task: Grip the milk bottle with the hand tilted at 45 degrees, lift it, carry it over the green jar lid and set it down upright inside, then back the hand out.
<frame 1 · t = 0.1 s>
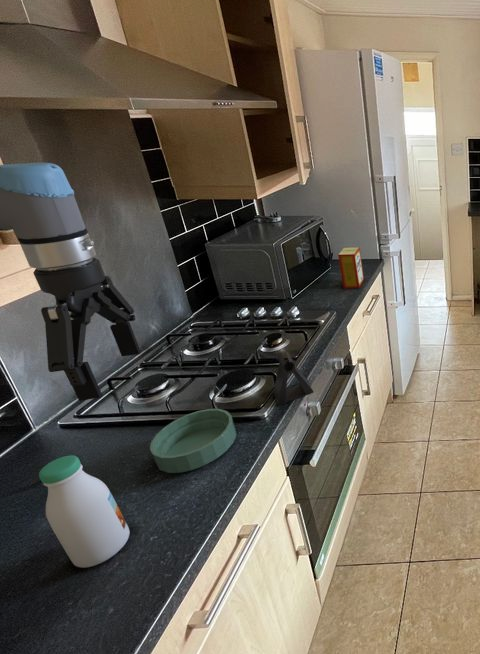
hand: (112, 374, 74), 30 cm above the worktop, tool pointing down, fingers open, 13 cm apart
milk bottle: (103, 548, 75), on the worktop
green jar lid: (198, 448, 97), on the worktop
baking soda box: (354, 284, 185), on the worktop
phone stand: (294, 394, 115), on the worktop
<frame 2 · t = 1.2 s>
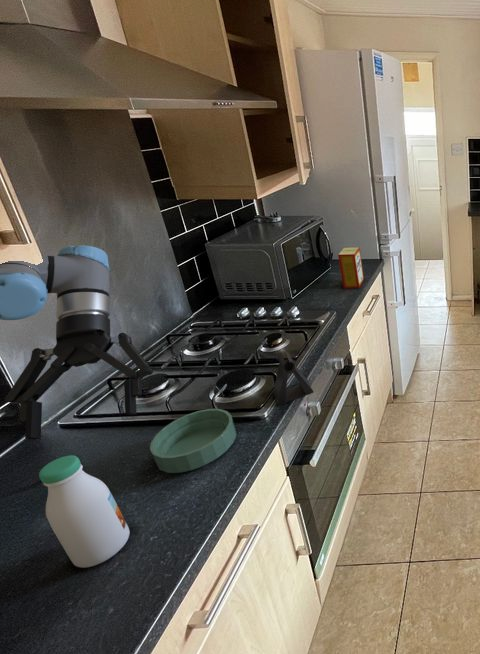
hand: (83, 426, 76), 20 cm above the worktop, tool tilted 45°, fingers open, 13 cm apart
nothing on the worktop moved.
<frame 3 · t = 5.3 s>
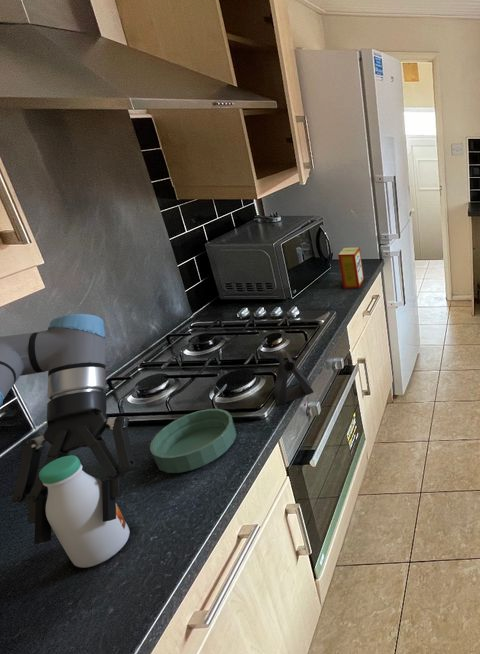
hand: (77, 530, 69), 9 cm above the worktop, tool tilted 45°, fingers closed on milk bottle, 8 cm apart
milk bottle: (103, 548, 75), on the worktop, touching gripper
everything else where it was.
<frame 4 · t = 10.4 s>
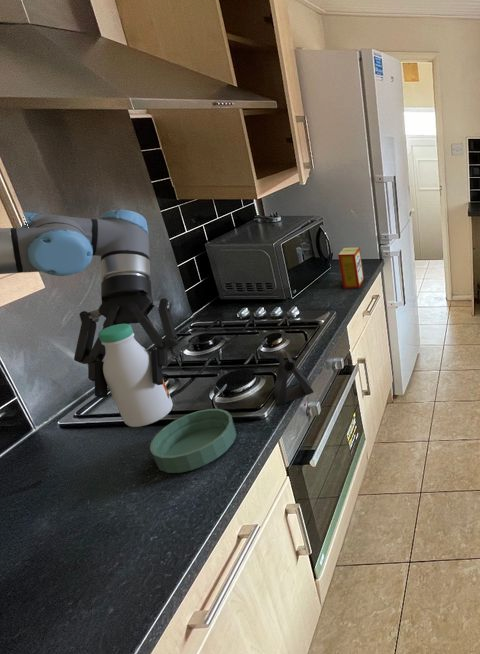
hand: (130, 389, 78), 25 cm above the worktop, tool tilted 45°, fingers closed on milk bottle, 8 cm apart
milk bottle: (150, 415, 84), point 16 cm above the worktop, touching gripper
everything else where it was.
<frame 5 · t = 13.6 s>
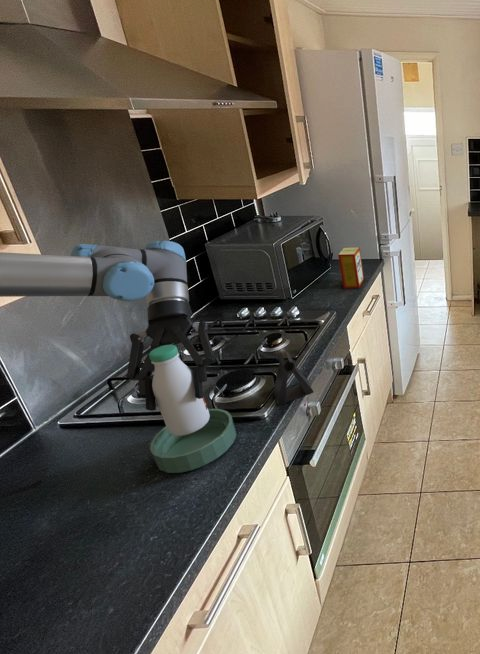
hand: (175, 403, 88), 16 cm above the worktop, tool tilted 45°, fingers closed on milk bottle, 8 cm apart
milk bottle: (190, 425, 94), point 7 cm above the worktop, touching gripper
everything else where it was.
when the fingers open (9 cm above the worktop, at t = 15.8 s): milk bottle stays where it is, resting on green jar lid.
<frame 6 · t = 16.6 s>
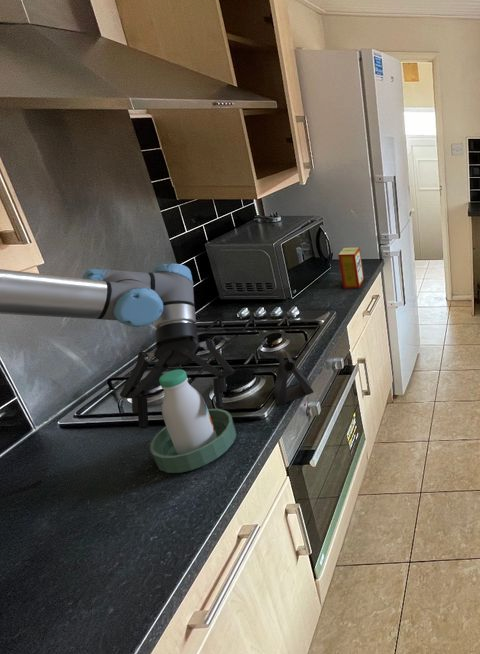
hand: (182, 417, 91), 11 cm above the worktop, tool tilted 45°, fingers open, 13 cm apart
milk bottle: (198, 446, 97), resting on green jar lid
everything else where it was.
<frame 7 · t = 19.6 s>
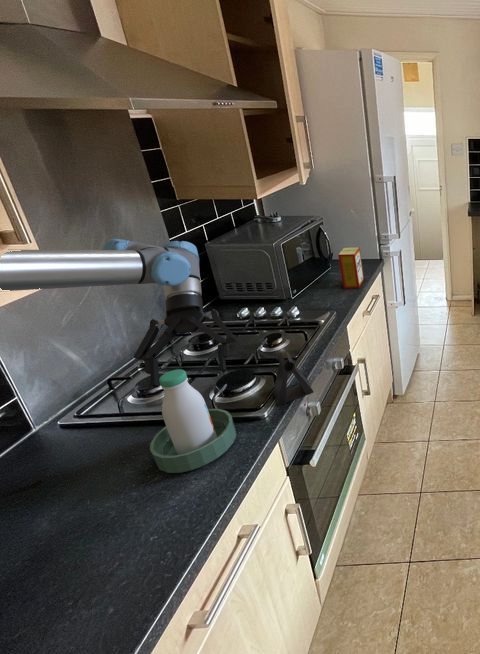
hand: (190, 378, 101), 13 cm above the worktop, tool tilted 45°, fingers open, 13 cm apart
nothing on the worktop moved.
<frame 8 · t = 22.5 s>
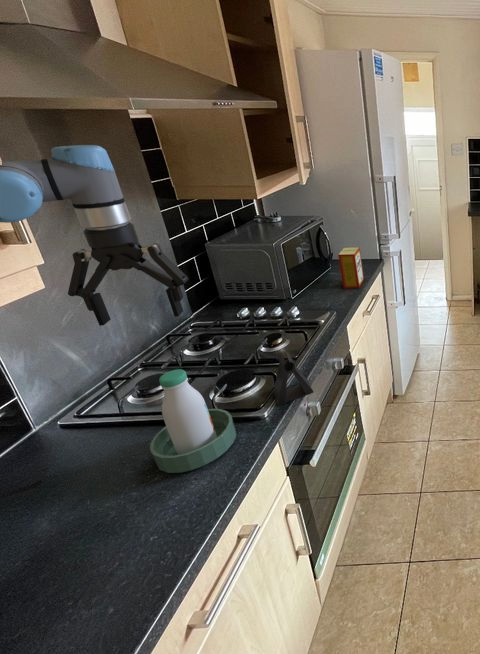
hand: (143, 318, 92), 31 cm above the worktop, tool pointing down, fingers open, 13 cm apart
nothing on the worktop moved.
at the end: milk bottle 0.0 cm off-centre in the green jar lid, point 0.4 cm above the green jar lid's base; milk bottle tilted 0°; the gripper is holding nothing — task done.
